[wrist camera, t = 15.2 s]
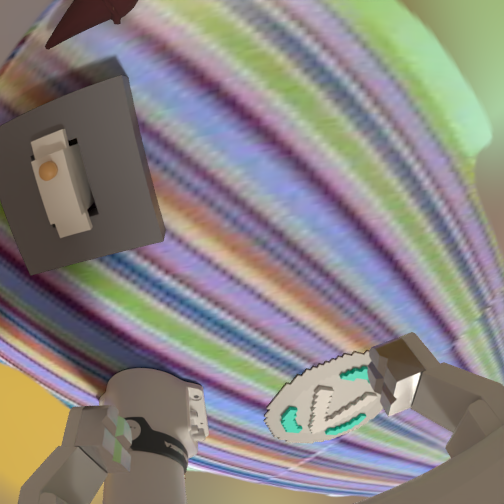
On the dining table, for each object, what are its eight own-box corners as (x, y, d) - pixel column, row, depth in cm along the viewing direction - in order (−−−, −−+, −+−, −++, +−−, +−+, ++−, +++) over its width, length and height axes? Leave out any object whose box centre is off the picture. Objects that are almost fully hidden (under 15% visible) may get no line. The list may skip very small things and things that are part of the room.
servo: (100, 216, 35) (85, 237, 29) (71, 224, 34) (53, 245, 29) (75, 126, 30) (54, 131, 24) (46, 137, 29) (21, 144, 24)
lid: (241, 434, 58) (242, 440, 56) (318, 336, 49) (321, 343, 47) (345, 441, 67) (347, 446, 65) (421, 361, 58) (425, 366, 56)
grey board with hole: (165, 230, 37) (163, 241, 34) (39, 263, 36) (30, 275, 33) (128, 77, 29) (121, 74, 26) (-4, 132, 27) (-18, 135, 25)
